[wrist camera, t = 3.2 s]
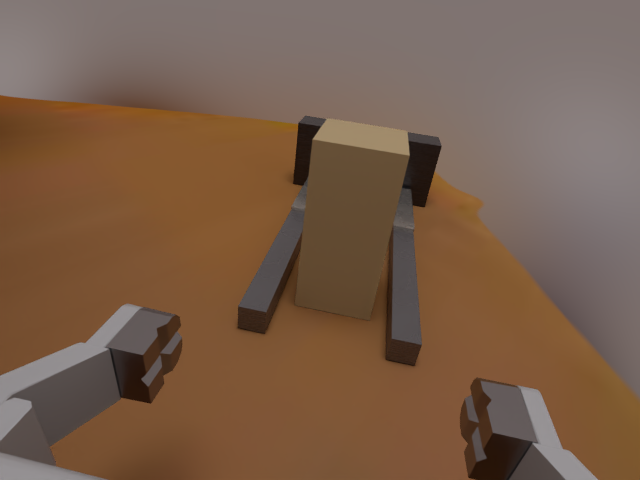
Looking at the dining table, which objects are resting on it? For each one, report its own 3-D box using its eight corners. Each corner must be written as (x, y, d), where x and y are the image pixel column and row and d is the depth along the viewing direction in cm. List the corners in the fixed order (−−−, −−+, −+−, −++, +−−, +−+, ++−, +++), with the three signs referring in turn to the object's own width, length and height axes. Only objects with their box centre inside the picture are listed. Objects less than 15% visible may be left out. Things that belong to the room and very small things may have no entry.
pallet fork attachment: (206, 321, 21) (202, 224, 18) (299, 173, 41) (305, 115, 38) (448, 372, 20) (488, 279, 17) (422, 194, 40) (438, 137, 37)
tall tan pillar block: (294, 305, 23) (312, 139, 18) (309, 264, 27) (327, 118, 22) (369, 320, 23) (409, 155, 18) (373, 276, 27) (407, 131, 21)
